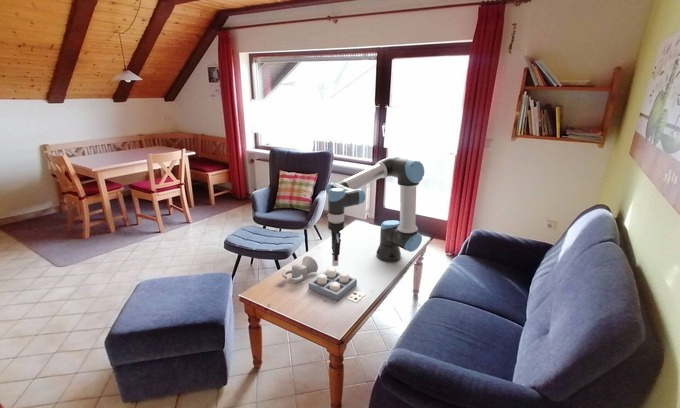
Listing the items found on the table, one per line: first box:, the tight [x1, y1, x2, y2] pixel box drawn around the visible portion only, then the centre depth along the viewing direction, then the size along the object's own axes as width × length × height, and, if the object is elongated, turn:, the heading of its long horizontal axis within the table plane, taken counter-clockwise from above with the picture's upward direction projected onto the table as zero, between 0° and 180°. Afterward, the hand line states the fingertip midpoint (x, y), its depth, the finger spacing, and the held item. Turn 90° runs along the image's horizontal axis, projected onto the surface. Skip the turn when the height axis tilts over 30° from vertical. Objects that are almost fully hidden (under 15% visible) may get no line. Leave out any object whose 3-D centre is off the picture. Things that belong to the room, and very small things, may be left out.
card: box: [345, 290, 365, 304], centre depth 171 cm, size 8×6×1 cm
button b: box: [316, 273, 327, 286], centre depth 176 cm, size 5×5×4 cm
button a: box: [330, 282, 340, 292], centre depth 172 cm, size 5×5×4 cm
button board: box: [308, 271, 358, 303], centre depth 178 cm, size 18×18×4 cm
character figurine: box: [281, 255, 319, 283], centre depth 186 cm, size 13×9×20 cm
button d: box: [326, 267, 337, 279], centre depth 182 cm, size 5×5×4 cm
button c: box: [339, 271, 350, 284], centre depth 178 cm, size 5×5×4 cm
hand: (335, 265), depth 168 cm, fingers closed
